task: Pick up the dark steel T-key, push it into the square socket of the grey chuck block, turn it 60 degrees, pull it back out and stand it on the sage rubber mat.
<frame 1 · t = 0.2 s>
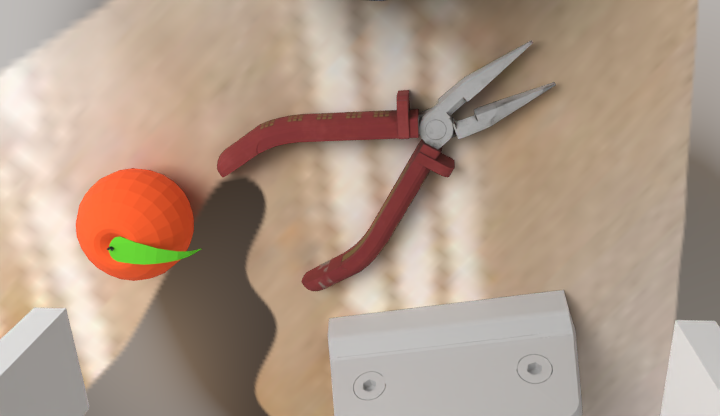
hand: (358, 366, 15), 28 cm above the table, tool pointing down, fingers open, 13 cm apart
pliers: (391, 171, 43), on the table
clementine: (166, 204, 45), on the table
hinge: (451, 349, 47), on the table
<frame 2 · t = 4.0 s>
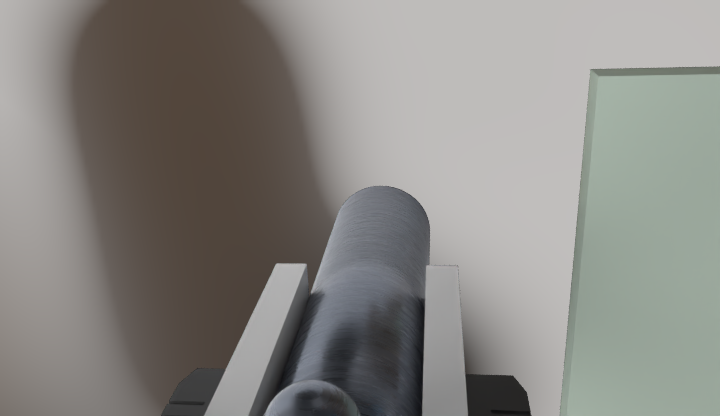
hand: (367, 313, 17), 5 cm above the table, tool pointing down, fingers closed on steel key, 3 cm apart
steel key: (382, 230, 21), on the table, touching gripper
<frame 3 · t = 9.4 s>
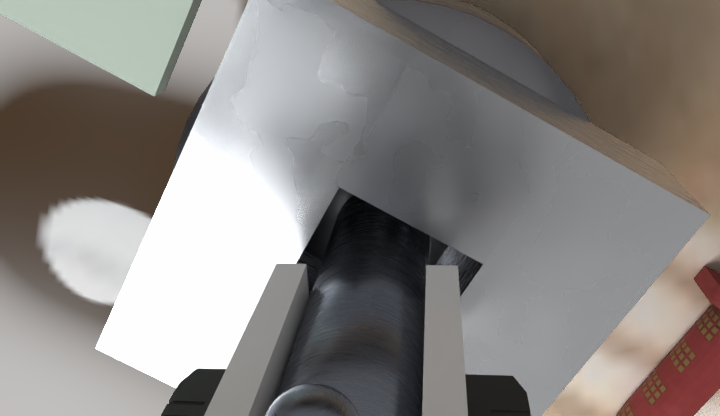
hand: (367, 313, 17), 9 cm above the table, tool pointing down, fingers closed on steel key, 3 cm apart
chuck block: (391, 183, 25), on the table
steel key: (382, 231, 21), point 4 cm above the table, touching gripper
when the fingers open (7 cm above the table, at t = 14.8 s): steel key drops 1 cm, resting on sage mat.
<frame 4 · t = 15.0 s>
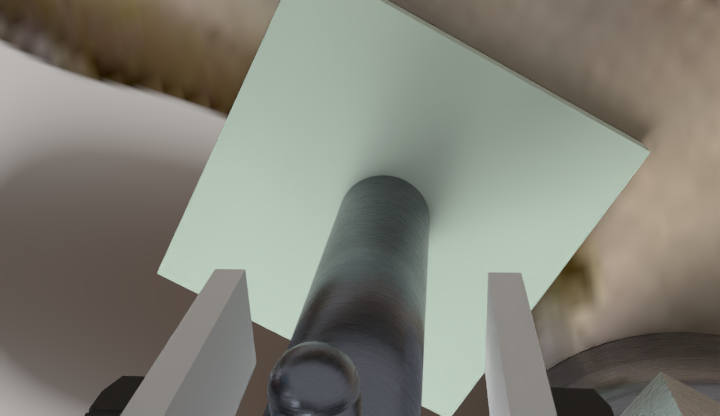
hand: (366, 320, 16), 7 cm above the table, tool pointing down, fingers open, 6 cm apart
sage mat: (386, 206, 23), on the table
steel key: (384, 217, 22), point 1 cm above the table, touching sage mat
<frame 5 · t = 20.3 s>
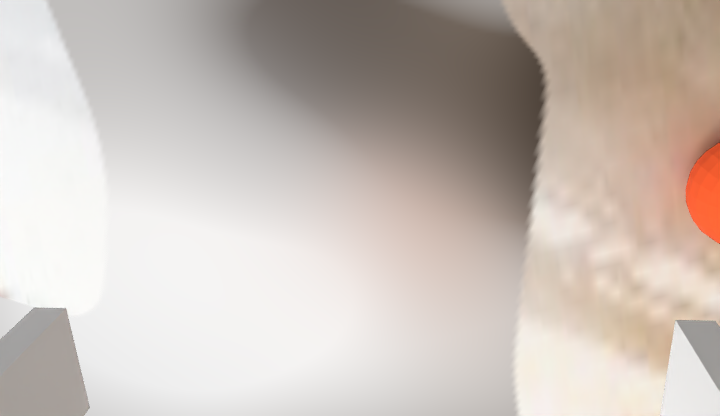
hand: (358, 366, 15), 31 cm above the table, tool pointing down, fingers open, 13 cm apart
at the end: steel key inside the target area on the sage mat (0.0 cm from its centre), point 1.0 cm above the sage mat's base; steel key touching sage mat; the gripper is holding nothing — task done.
